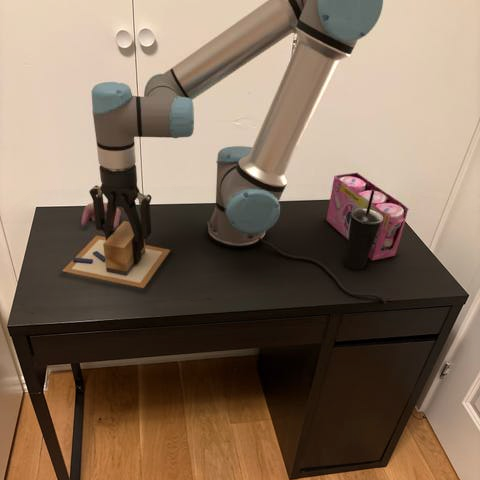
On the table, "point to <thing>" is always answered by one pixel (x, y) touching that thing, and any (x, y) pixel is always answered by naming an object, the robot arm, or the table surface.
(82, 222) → the video game controller
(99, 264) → the board
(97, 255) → the stroke
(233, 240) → the robot arm
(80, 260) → the stroke
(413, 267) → the table surface
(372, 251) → the gum box
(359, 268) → the drinking cup
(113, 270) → the eraser
